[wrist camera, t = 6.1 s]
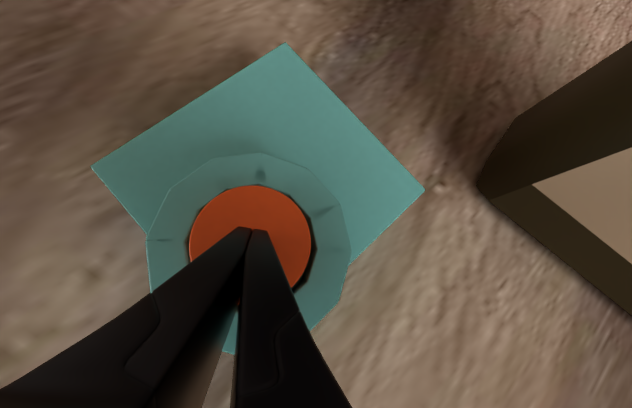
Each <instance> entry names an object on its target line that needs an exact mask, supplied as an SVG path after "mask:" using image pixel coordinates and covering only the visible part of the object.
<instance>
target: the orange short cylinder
mask: <svg viewBox="0 0 632 408" xmlns="http://www.w3.org/2000/svg"><path fill="white" fill-rule="evenodd" d="M238 226H241V227H247V228H251V229H252V230H253V229H260V230H266V231H267V232H268V234H269V236H270V239H271V241H272V243H273V246H274V248H275V251H276V253H277V255H278V258H279V260H280V263H281V265H282V267H283V270H284V272H285V275H286V277H287V280H288V282H289V284H290V287H291V288H292V287H293V286H294V285H295V283H296V282H297V281H298V280H299V278H300V277H301V276H302V274H303V272H304V270H305V268H306V266H307V263H308V260H309V256H310V250H311V237H310V230H309V227H308V224H307V221H306V219H305V217H304V215H303V213H302V212H301V210H300V209H299V208H298V206H297V205H296V204H295V203H294V202H293V201H292V200H291V199H289V198H288V197H287V196H285V195H284V194H282V193H280V192H279V191H276V190H274V189H271V188H267V187H263V186H251V185H249V186H241V187H236V188H233V189H230V190H227V191H225V192H223V193H221V194H219V195H218V196H216V197H215V198H213V199H212V200H211V201H210V202H209V203H208V204H207V205H206V206H205V207H204V208H203V209H202V211H201V212H200V213H199V215H198V216H197V218H196V220H195V222H194V225H193V227H192V230H191V234H190V239H189V255H190V260H191V261H193V260H194V259H195V258H197V257H198V256H199V255H201V254H202V253H203V252H205V251H206V250H207V249H209V248H210V247H211V246H213V245H214V244H215V243H217V242H218V241H219V240H221V239H222V238H223V237H225V236H226V235H227V234H228V233H230V232H231V231H232V230H234V229H235V228H236V227H238ZM239 301H240V300H239Z"/></svg>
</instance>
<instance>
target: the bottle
mask: <svg viewBox="0 0 632 408" xmlns="http://www.w3.org/2000/svg"><path fill="white" fill-rule="evenodd" d="M476 186H477V187H478V189H479V190H480V191H481V192H482V193H483V194H484V196H485V197H486V198H487V199H488V200H489V201H490V202H491V203H492V204H494V205H495V206H496V207H497V208H499V209H500V210H501V211H502V212H504V213H505V214H506V215H507V216H509V217H510V218H511V219H512V220H513V221H515V222H516V223H517V224H518V225H520V226H521V227H522V228H523V229H525V230H526V231H527V232H528V233H530V234H531V235H532V236H533V237H535V238H536V239H537V240H538V241H540V242H541V243H542V244H543V245H545V246H546V247H547V248H548V249H550V250H551V251H552V252H553V253H554V254H556V255H557V256H558V257H559V258H561V259H562V260H563V261H564V262H566V263H567V264H568V265H569V266H571V267H572V268H573V269H574V270H576V271H577V272H578V273H579V274H581V275H582V276H583V277H584V278H586V279H587V280H588V281H589V282H591V283H592V284H593V285H594V286H595V287H597V288H598V289H599V290H600V291H602V292H603V293H604V294H605V295H607V296H608V297H609V298H610V299H612V300H613V301H614V302H615V303H617V304H618V305H619V306H620V307H622V308H623V309H624V310H625V311H627V312H628V313H629V314H630V315H632V41H631V42H629V43H628V44H626V45H625V46H623V47H622V48H620V49H619V50H617V51H616V52H614V53H613V54H611V55H610V56H608V57H607V58H605V59H604V60H602V61H601V62H599V63H598V64H596V65H595V66H593V67H592V68H590V69H589V70H587V71H586V72H584V73H583V74H581V75H580V76H578V77H577V78H575V79H574V80H572V81H571V82H569V83H568V84H566V85H565V86H563V87H562V88H560V89H559V90H557V91H556V92H554V93H553V94H551V95H550V96H548V97H547V98H545V99H543V100H542V101H540V102H539V103H537V104H536V105H534V106H533V107H531V108H530V109H528V110H527V111H525V112H524V113H522V114H521V115H519V116H518V117H516V118H515V120H514V121H513V123H512V124H511V126H510V127H509V129H508V130H507V132H506V133H505V135H504V136H503V138H502V139H501V141H500V142H499V144H498V145H497V147H496V148H495V150H494V151H493V152H492V154H491V155H490V157H489V158H488V160H487V161H486V164H485V166H484V168H483V171H482V173H481V176H480V178H479V180H478V183H477V185H476Z"/></svg>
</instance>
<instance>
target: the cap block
mask: <svg viewBox="0 0 632 408" xmlns="http://www.w3.org/2000/svg"><path fill="white" fill-rule="evenodd" d="M90 167H91V168H92V170H93V171H94V172H95V173H96V174H97V176H98V177H99V178H100V179H101V180H102V182H103V183H104V184H105V185H106V186H107V188H108V189H109V190H110V191H111V192H112V194H113V195H114V196H115V197H116V198H117V200H118V201H119V202H120V203H121V204H122V206H123V207H124V208H125V209H126V210H127V212H128V213H129V214H130V215H131V216H132V218H133V219H134V220H135V221H136V222H137V224H138V225H139V226H140V227H141V228H142V230H143V231H144V232H145V233H146V234H147V236H146V239H147V240H146V242H145V244H146V254H147V264H148V274H149V285H150V293H152V291H153V290H154V289H156V288H157V287H158V286H160V285H161V284H162V283H164V282H165V281H166V280H168V279H169V278H170V277H172V276H173V275H174V274H176V273H177V272H178V271H180V270H181V269H182V268H184V267H185V266H186V265H188V264H189V263H190V262H191V260H190V255H189V239H190V234H191V230H192V227H193V225H194V222H195V220H196V218H197V216H198V215H199V213H200V212H201V211H202V209H203V208H204V207H205V206H206V205H207V204H208V203H209V202H210V201H211V200H212V199H213V198H215V197H216V196H218V195H219V194H221V193H223V192H225V191H227V190H230V189H233V188H236V187H241V186H249V185H251V186H263V187H267V188H271V189H274V190H276V191H279V192H280V193H282V194H284V195H285V196H287V197H288V198H289V199H291V200H292V201H293V202H294V203H295V204H296V205H297V206H298V208H299V209H300V210H301V212H302V213H303V215H304V217H305V219H306V221H307V224H308V227H309V230H310V237H311V250H310V256H309V260H308V263H307V266H306V268H305V270H304V272H303V274H302V276H301V277H300V278H299V280H298V281H297V282H296V283H295V285H294V286H293V287H292V288H291V289H292V292H293V294H294V296H295V299H296V301H297V304H298V306H299V308H300V312H301V313H302V315H303V318H304V320H305V323H306V325H307V327H308V329H309V331H311V330H312V329H313V328H314V327H315V326H316V325H317V324H318V322H319V321H320V320H321V319H322V318H323V317H324V316H325V315H326V314H327V313H328V312H329V311H330V310H331V309H332V308H333V307H334V306H335V305H336V304H337V303H338V301H339V298H340V295H341V291H342V287H343V284H344V280H345V276H346V273H347V269H348V266H349V265H350V264H351V263H352V262H353V261H354V260H355V259H356V258H357V257H358V256H359V255H360V254H361V253H362V252H363V251H364V250H365V249H366V248H367V247H368V246H369V245H370V244H371V243H372V242H373V241H374V240H375V239H376V238H377V237H378V236H379V235H380V234H381V233H382V232H383V231H384V230H385V229H386V228H387V227H388V226H390V225H391V224H392V223H393V222H394V221H395V220H396V219H397V218H398V217H399V216H400V215H401V214H402V213H403V212H404V211H405V210H406V209H407V208H408V207H409V206H410V205H411V204H412V203H413V202H414V201H415V200H416V199H417V198H418V197H419V196H420V195H421V194H422V193H423V192H424V191H425V189H424V188H423V187H422V185H421V184H420V183H419V182H418V181H417V180H416V179H415V178H414V177H413V176H412V175H411V174H410V173H409V172H408V171H407V170H406V169H405V168H404V167H403V165H402V164H401V163H400V162H399V161H398V160H397V159H396V158H395V157H394V156H393V155H392V154H391V153H390V152H389V151H388V150H387V149H386V148H385V147H384V145H383V144H382V143H381V142H380V141H379V140H378V139H377V138H376V137H375V136H374V135H373V134H372V133H371V132H370V131H369V130H368V129H367V128H366V127H365V125H364V124H363V123H362V122H361V121H360V120H359V119H358V118H357V117H356V116H355V115H354V114H353V113H352V112H351V111H350V110H349V109H348V108H347V107H346V105H345V104H344V103H343V102H342V101H341V100H340V99H339V98H338V97H337V96H336V95H335V94H334V93H333V92H332V91H331V90H330V89H329V88H328V87H327V85H326V84H325V83H324V82H323V81H322V80H321V79H320V78H319V77H318V76H317V75H316V74H315V73H314V72H313V71H312V70H311V69H310V68H309V67H308V65H307V64H306V63H305V62H304V61H303V60H302V59H301V58H300V57H299V56H298V55H297V54H296V53H295V52H294V51H293V50H292V49H291V48H290V47H289V45H288V44H287V43H286V42H285V43H283V44H281V45H280V46H278V47H277V48H275V49H274V50H272V51H270V52H269V53H267V54H266V55H264V56H263V57H261V58H259V59H258V60H256V61H255V62H253V63H252V64H250V65H248V66H247V67H245V68H244V69H242V70H241V71H239V72H237V73H236V74H234V75H233V76H231V77H230V78H228V79H226V80H225V81H223V82H222V83H220V84H219V85H217V86H215V87H214V88H212V89H211V90H209V91H208V92H206V93H204V94H203V95H201V96H200V97H198V98H197V99H195V100H193V101H192V102H190V103H189V104H187V105H186V106H184V107H182V108H181V109H179V110H178V111H176V112H175V113H173V114H171V115H170V116H168V117H167V118H165V119H164V120H162V121H160V122H159V123H157V124H156V125H154V126H152V127H151V128H149V129H148V130H146V131H145V132H143V133H141V134H140V135H138V136H137V137H135V138H134V139H132V140H130V141H129V142H127V143H126V144H124V145H123V146H121V147H119V148H118V149H116V150H115V151H113V152H112V153H110V154H108V155H107V156H105V157H104V158H102V159H101V160H99V161H97V162H96V163H94V164H93V165H91V166H90ZM238 310H239V304H238V307H237V310H236V313H235V316H234V319H233V321H232V324H231V327H230V330H229V333H228V335H227V338H226V341H225V344H224V346H223V349H222V351H223V352H227V353H230V354H233V355H235V344H236V332H237V320H238Z"/></svg>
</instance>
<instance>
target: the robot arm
mask: <svg viewBox="0 0 632 408" xmlns="http://www.w3.org/2000/svg"><path fill="white" fill-rule="evenodd" d="M239 300H240V301H239ZM238 304H239V310H238V320H237V332H236V344H235V355H234V367H233V379H232V390H231V402H230V408H352V406H351V405H350V403H349V401H348V400H347V398H346V396H345V395H344V393H343V391H342V389H341V388H340V386H339V384H338V383H337V381H336V379H335V377H334V376H333V374H332V372H331V371H330V369H329V367H328V365H327V364H326V362H325V360H324V359H323V357H322V355H321V353H320V351H319V349H318V348H317V346H316V344H315V342H314V340H313V338H312V336H311V334H310V331H309V329H308V327H307V325H306V323H305V320H304V318H303V315H302V313H301V312H300V308H299V306H298V304H297V301H296V299H295V296H294V294H293V292H292V289H291V287H290V284H289V282H288V280H287V277H286V275H285V272H284V270H283V267H282V265H281V263H280V260H279V258H278V255H277V253H276V251H275V248H274V246H273V243H272V241H271V239H270V236H269V234H268V232H267V231H266V230H260V229H253V230H252V229H251V228H247V227H241V226H238V227H236V228H235V229H234V230H232V231H231V232H230V233H228V234H227V235H226V236H225V237H223V238H222V239H221V240H219V241H218V242H217V243H215V244H214V245H213V246H211V247H210V248H209V249H207V250H206V251H205V252H203V253H202V254H201V255H199V256H198V257H197V258H195V259H194V260H193V261H191V262H190V263H189V264H188V265H186V266H185V267H184V268H182V269H181V270H180V271H178V272H177V273H176V274H174V275H173V276H172V277H170V278H169V279H168V280H166V281H165V282H164V283H162V284H161V285H160V286H158V287H157V288H156V289H154V290H153V291H152V293H149V294H148V295H146V296H145V297H144V298H142V299H141V300H140V301H138V302H137V303H136V304H134V305H133V306H131V307H130V308H129V309H127V310H126V311H125V312H123V313H122V314H120V315H119V316H118V317H116V318H115V319H113V320H111V321H110V322H108V323H107V324H105V325H104V326H102V327H101V328H99V329H98V330H96V331H95V332H93V333H92V334H90V335H88V336H87V337H85V338H84V339H82V340H80V341H79V342H77V343H76V344H74V345H72V346H71V347H69V348H68V349H66V350H64V351H63V352H61V353H59V354H58V355H56V356H55V357H53V358H51V359H50V360H48V361H47V362H45V363H43V364H42V365H40V366H39V367H37V368H35V369H34V370H32V371H31V372H29V373H27V374H26V375H24V376H23V377H21V378H19V379H18V380H16V381H14V382H12V383H11V384H9V385H7V386H5V387H3V388H1V389H0V408H201V407H202V405H203V402H204V399H205V396H206V394H207V391H208V388H209V385H210V383H211V380H212V377H213V374H214V371H215V369H216V366H217V363H218V360H219V358H220V355H221V352H222V349H223V346H224V344H225V341H226V338H227V335H228V333H229V330H230V327H231V324H232V321H233V319H234V316H235V313H236V310H237V307H238Z"/></svg>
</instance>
